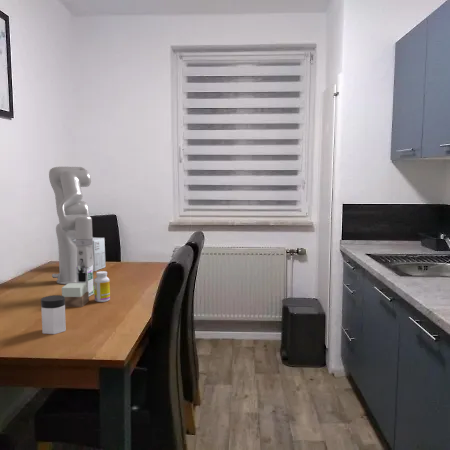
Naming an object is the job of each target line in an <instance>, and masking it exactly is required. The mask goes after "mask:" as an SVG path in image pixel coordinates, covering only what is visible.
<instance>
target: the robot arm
mask: <svg viewBox="0 0 450 450" xmlns="http://www.w3.org/2000/svg"><path fill="white" fill-rule="evenodd" d="M48 179H49V184H50V185H51V188H52V190H53V192H54V193H53V194H54V197H55V208H56V214H57V218H58V221H59V223H58V224H56V227H55V234H56V239H57V247H58V248H57V249H58V262H59V263H58V267H59V268H58V269H59V273H52V275H51V277H52V278H53V279H56V283H57V284H60V285H66V284H68V283H77V276H76V266H78V281H79V282H85V281H86V273H85V268H86V267H87V268H89V267H91V266H92V265H93V264H94V258H93V249H92V246H93V238H94V236H93V218H92V217H91V215H90V209H89V205H88V203H87V202H86V201H84V200H83V192H82V188H88V187H90V185H91V182H92V178H91V174H90V172H89V170H87V169H86V168H85V167H82V166H55V167H51V168H50V169H49V171H48ZM75 239H76V244H75V243H74V242H73V241H72V240H75Z"/></svg>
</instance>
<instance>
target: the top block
mask: <svg viewBox="0 0 450 450" xmlns="http://www.w3.org/2000/svg"><path fill="white" fill-rule="evenodd" d="M86 292H87V286H86V283H68V284H64V285H63V286H62V287H61V296H64V297H81V296H83V295H84V294H85V293H86Z"/></svg>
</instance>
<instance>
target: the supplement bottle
mask: <svg viewBox="0 0 450 450" xmlns="http://www.w3.org/2000/svg"><path fill="white" fill-rule="evenodd" d="M95 272H96V273H95V276H96V277H95V278H94V301H95V302H97V303H105V302H108V301H110V300H111V286H110V285H111V283H110V282H111V281H110V280H111V279H110V278H109V277H108V276H107V275H108V271H106V270H105V271H104V270H102V271H101V270H98V271H95Z"/></svg>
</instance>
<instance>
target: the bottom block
mask: <svg viewBox="0 0 450 450" xmlns="http://www.w3.org/2000/svg"><path fill="white" fill-rule="evenodd" d="M89 297H90V296H89V292H86V293H85V294H84V295H83V296H81V297H65V308H69V307H71V308H72V307H73V308H79V307H80V308H83V307H84V306H86V304H87V303H88V302H89V301H90V298H89Z"/></svg>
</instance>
